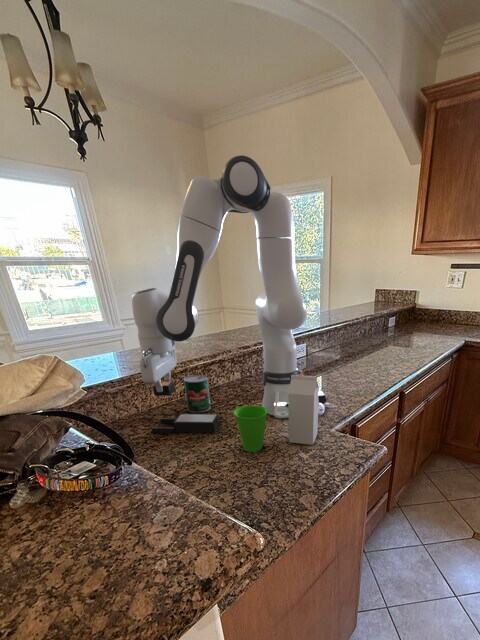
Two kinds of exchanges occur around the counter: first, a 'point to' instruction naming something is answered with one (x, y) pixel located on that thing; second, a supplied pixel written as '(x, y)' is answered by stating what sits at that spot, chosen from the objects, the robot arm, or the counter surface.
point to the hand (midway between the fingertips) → (164, 388)
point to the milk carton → (303, 409)
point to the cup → (251, 426)
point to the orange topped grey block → (165, 388)
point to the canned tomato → (197, 393)
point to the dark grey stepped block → (190, 423)
